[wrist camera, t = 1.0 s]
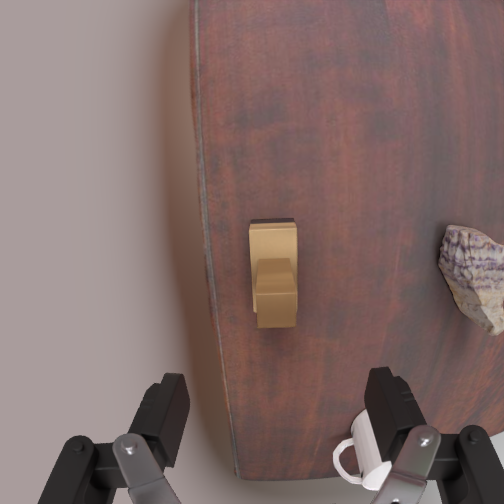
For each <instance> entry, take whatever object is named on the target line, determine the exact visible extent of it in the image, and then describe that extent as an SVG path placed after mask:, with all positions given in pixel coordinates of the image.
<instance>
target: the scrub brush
mask: <svg viewBox="0 0 504 504" xmlns="http://www.w3.org/2000/svg"><path fill="white" fill-rule="evenodd" d="M249 242H250V259H251V276H252V292H253V309H254V312H257V328H281V327H296V311H297V227H296V225H295V222H294V219H293V218H282V219H256V220H251V223H250V228H249Z"/></svg>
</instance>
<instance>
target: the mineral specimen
mask: <svg viewBox="0 0 504 504" xmlns="http://www.w3.org/2000/svg"><path fill="white" fill-rule="evenodd" d="M442 242H443V245H442V246H441V247H440V251H441V254H440V259H439V263H438V265H439V267H440V269H441V271H442V273H443V275H444V277H445V279H446V281H447V283H448V285H449V286H450V290H451V291H452V293H453V297H454V300H455V302H456V304H457V305H458V307H459V309H460V311H461V312H462V313H464V314H465V315H466V316H468V318H469V319H470V320H472V321H473V322H474V323H476V324H477V325H479V326H481V327H482V328H483V329H484V330H485V331H487V332H488V333H489V334H490V335H498V334H499V333H501V332H502V331H503V329H504V310H503V307H502V302H503V299H504V246H503V245H501V244H498V243H495V242H494V241H493V240H492V239H490V238H489V237H488V236H486V235H485V234H484V233H482V232H480V231H479V230H476V229H474V228H467V227H462V226H455V225H448V226H447V228H446V233H445V236H444V238H443V241H442Z"/></svg>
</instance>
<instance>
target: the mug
mask: <svg viewBox="0 0 504 504" xmlns="http://www.w3.org/2000/svg"><path fill="white" fill-rule="evenodd" d="M351 434H352V438H350V439H347V440H344V441H342V442H341V443H340V444H339V445H338V446H337V447H336V449H335V450H334V452H333V463H334V467H335V468H336V470H337V471H338V473H339V474H340V475H341V476H342V477H343V478H344V479H346V480H347V481H349V482H350V483H353V484H363V486H364V487H365V488H366V489H369V490H379V489H380V487H381V485H382V483H383V482H384V480H385V478H386V476H387V474H388V473H389V471H390V469H391V467H392V465H391V461H387V462H382V461H381V457H380V454H379V450H378V447H377V443H376V440H375V436H374V433H373V430H372V426H371V423H370V420H369V416H368V413H367V410H366V409H365V410H364V411H362V412H361V413H360V414H359V415H358V416H357V417H356V418H355V420H354V422H353V424H352V426H351ZM351 445H354V447H355V451H356V456H357V460H358V465H359V470H360V474H361V478H358V477H353V476H350V475H349V474H348V473H346V472H345V471H344V470H343V468H342V467H341V465H340V463H339V455H340V453H341V452H343V450H344V449H345V448H346V447H348V446H351Z"/></svg>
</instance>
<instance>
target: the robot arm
mask: <svg viewBox="0 0 504 504" xmlns="http://www.w3.org/2000/svg"><path fill="white" fill-rule="evenodd" d="M364 401H365V407H366V410H367V413H368V416H369V420H370V423H371V426H372V430H373V433H374V436H375V440H376V443H377V447H378V450H379V454H380V457H381V461H382V462H387V461H391V465H392V467H391V469H390V471H389V473H388V474H387V476H386V478H385V480H384V482H383V483H382V485H381V487H380V489H379V490H378V492H377V494H376V496H375V497H374V499H373V500H372V502H371V503H370V504H418V503H419V501H420V499H421V497H422V495H423V492H424V490H425V488H426V485H427V481H426V480H436V482H437V486H438V489H439V492H440V496H441V500H442V504H504V469H503V467H502V464H501V462H500V460H499V458H498V455H497V453H496V451H495V449H494V447H493V445H492V443H491V440H490V438H489V436H488V434H487V432H486V431H485V430H484V429H483V428H482V427H480V426H477V425H469V426H466V427H465V428H463V429H462V430H461V432H460V434H441V433H439V431H438V430H437V429H436V428H434V427H432V426H430V425H427V423H426V421H425V419H424V417H423V415H422V413H421V410H420V408H419V406H418V404H417V402H416V400H415V398H414V396H413V394H412V393H411V390H410V388H409V386H408V384H407V382H405V381H404V380H403V379H402V378H401V377H400V376H397V377H393V375H392V373H391V371H390V369H389V367H380V368H372V369H371V370H370V373H369V377H368V382H367V386H366V390H365V395H364ZM189 409H190V398H189V394H188V390H187V386H186V383H185V378H184V375H183V374H176V373H165V374H164V377H163V379H162V381H161V384H159V383H154V384H153V385H152V386H151V387H150V388H149V389H148V390H147V391H146V393H145V395H144V397H143V401H141V404H140V408H138V411H137V413H136V415H135V417H134V420H133V422H132V424H131V427H130V429H129V431H128V433H127V434H123V435H121V436H119V437H118V438H117V439H116V440H115V441H114V442H113V443H101V444H94V443H93V442H92V441H91V440H90V439H89V438H88V437H86V436H81V435H79V436H74V437H72V438H70V439H69V440H68V441H67V442H66V443H65V445H64V447H63V449H62V451H61V453H60V455H59V457H58V459H57V461H56V464H55V466H54V468H53V470H52V472H51V474H50V477H49V479H48V481H47V483H46V486H45V488H44V490H43V492H42V495H41V497H40V499H39V502H38V504H112V503H113V499H114V496H115V492H116V489H117V488H127V487H128V488H129V489H128V493H129V495H130V498H131V500H132V502H133V504H181V502H180V501H179V499H178V497H177V496H176V494H175V493H174V491H173V489H172V488H171V486H170V484H169V483H168V481H167V479H166V478H165V476H164V475H163V473H164V469H165V467H172V468H173V467H174V464H175V461H176V457H177V453H178V449H179V446H180V442H181V439H182V435H183V431H184V428H185V424H186V421H187V417H188V413H189Z"/></svg>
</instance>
